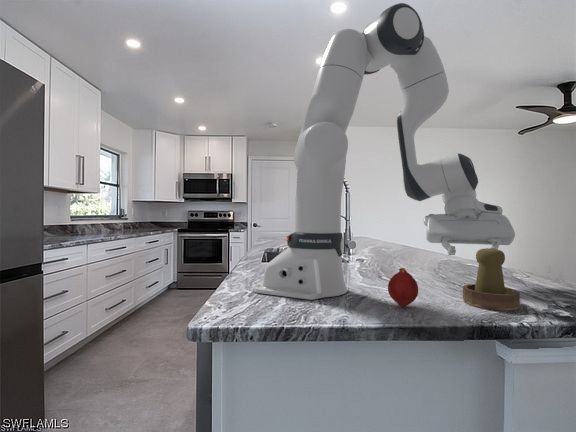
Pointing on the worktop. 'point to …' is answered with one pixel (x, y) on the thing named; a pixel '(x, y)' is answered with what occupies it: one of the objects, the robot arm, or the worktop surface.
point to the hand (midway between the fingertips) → (473, 254)
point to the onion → (403, 288)
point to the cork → (490, 271)
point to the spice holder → (492, 299)
